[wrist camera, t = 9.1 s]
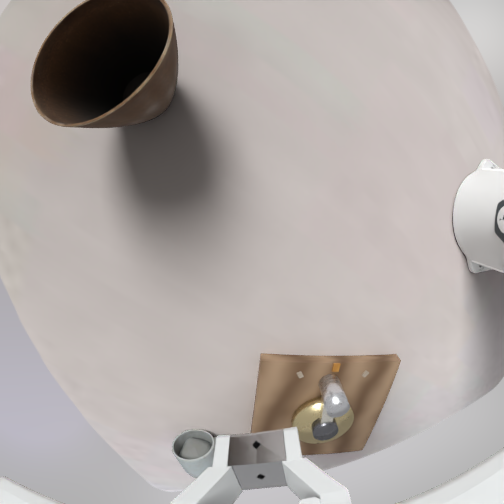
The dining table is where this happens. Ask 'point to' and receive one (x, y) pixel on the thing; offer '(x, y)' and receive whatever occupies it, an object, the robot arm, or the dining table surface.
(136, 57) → the plant pot
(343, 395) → the brass and silver crank
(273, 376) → the brown flat wooden board
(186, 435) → the ceramic mug
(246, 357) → the dining table surface
